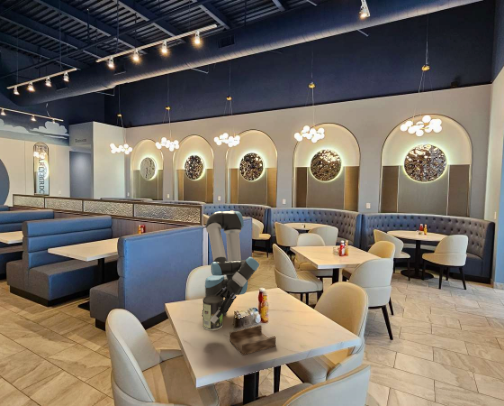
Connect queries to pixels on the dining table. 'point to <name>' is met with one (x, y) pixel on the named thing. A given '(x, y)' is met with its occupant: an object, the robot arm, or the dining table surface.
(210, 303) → the coffee can
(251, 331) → the cradle
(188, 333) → the dining table surface
